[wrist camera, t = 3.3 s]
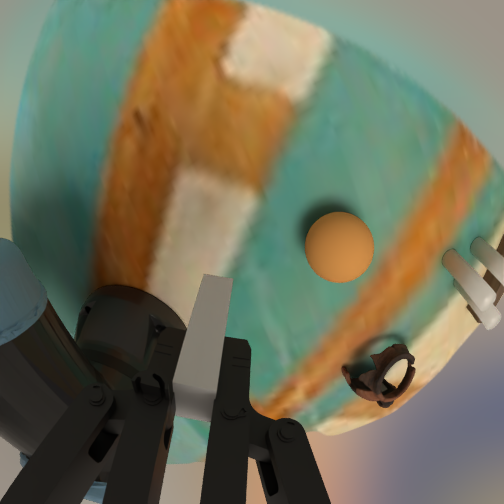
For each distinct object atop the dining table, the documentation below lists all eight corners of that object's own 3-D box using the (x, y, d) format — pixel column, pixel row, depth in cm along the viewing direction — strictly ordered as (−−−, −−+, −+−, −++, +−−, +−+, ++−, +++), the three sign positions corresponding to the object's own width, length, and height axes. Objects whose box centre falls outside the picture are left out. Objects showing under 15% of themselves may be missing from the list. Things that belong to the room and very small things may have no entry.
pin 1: (467, 252, 26) (506, 293, 19) (475, 235, 25) (517, 273, 17) (478, 255, 26) (515, 294, 19) (485, 239, 25) (525, 276, 18)
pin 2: (450, 286, 28) (483, 330, 21) (459, 270, 27) (494, 313, 20) (461, 287, 29) (493, 329, 21) (469, 272, 27) (504, 313, 20)
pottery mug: (328, 356, 35) (362, 382, 27) (377, 317, 37) (416, 332, 29) (352, 406, 37) (382, 431, 29) (394, 370, 39) (427, 388, 31)
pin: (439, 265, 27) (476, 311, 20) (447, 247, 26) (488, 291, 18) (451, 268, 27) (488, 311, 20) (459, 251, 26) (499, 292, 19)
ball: (294, 254, 27) (301, 292, 22) (309, 196, 24) (323, 222, 19) (349, 263, 27) (367, 300, 22) (369, 209, 24) (395, 238, 19)
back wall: (466, 307, 30) (477, 322, 27) (506, 227, 24) (522, 240, 21) (473, 308, 30) (484, 323, 27) (512, 230, 24) (528, 243, 21)
